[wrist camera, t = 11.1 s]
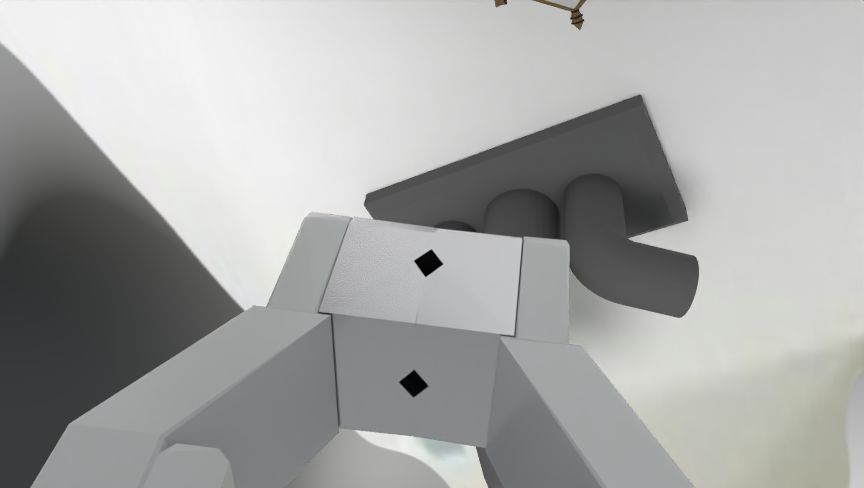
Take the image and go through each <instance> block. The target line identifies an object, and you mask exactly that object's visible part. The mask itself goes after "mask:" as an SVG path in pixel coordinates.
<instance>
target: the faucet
mask: <svg viewBox="0 0 864 488" xmlns="http://www.w3.org/2000/svg"><path fill="white" fill-rule="evenodd" d="M364 206H365V207H366V209H367V210H368V212H369V213H370V215H371V216H372V217H373V219H374V220H381V221H389V222H396V223H404V224H411V225H418V226H426V227H433V228H438V229H448V230H457V231H466V232H476V233H485V234H494V235H503V236H513V237H522V241H523V238H524V237H535V238H546V239H558V240H567V242H568V244H569V246H570V264H569V267H570V268H571V270H572V272H573V273H574V275H575V276H576V277H577V279H578V280H579V281H580V282H581V283H582V284H583V285H584V286H585V287H587V288H588V289H589V290H591V291H592V292H593V293H595V294H597V295H598V296H600V297H602V298H604V299H607V300H609V301H612V302H615V303H618V304H622V305H626V306H630V307H635V308H639V309H643V310H648V311H652V312H656V313H660V314H665V315H669V316H673V317H678V318H680V317H682V316H684V315H685V314H686V313H687V311H688V310H689V308H690V306H691V304H692V302H693V299H694V296H695V293H696V289H697V284H698V277H699V266H698V261H697V259H696V257H695V256H692V255H688V254H684V253H680V252H675V251H671V250H667V249H663V248H658V247H654V246H650V245H646V244H641V243H637V242H633V241H631V240H629V239H628V238H630V237H634V236H637V235H641V234H644V233H647V232H651V231H654V230H658V229H661V228H664V227H668V226H671V225H674V224H678V223H681V222H685V221H688V217H687V212H686V208H685V205H684V203H683V200H682V198H681V195H680V193H679V190H678V188H677V185H676V183H675V180H674V178H673V175H672V173H671V170H670V168H669V165H668V163H667V160H666V158H665V155H664V153H663V150H662V148H661V145H660V143H659V140H658V137H657V135H656V132H655V130H654V127H653V125H652V122H651V120H650V117H649V115H648V112H647V110H646V107H645V105H644V102H643V100H642V97H641V95H638V96H635V97H633V98H630V99H627V100H624V101H622V102H619V103H616V104H613V105H611V106H608V107H605V108H602V109H600V110H597V111H594V112H591V113H589V114H586V115H583V116H580V117H578V118H575V119H572V120H569V121H567V122H564V123H561V124H558V125H556V126H553V127H550V128H547V129H545V130H542V131H539V132H536V133H534V134H531V135H528V136H525V137H523V138H520V139H517V140H514V141H512V142H509V143H506V144H503V145H501V146H498V147H495V148H492V149H490V150H487V151H484V152H481V153H479V154H476V155H473V156H470V157H468V158H465V159H462V160H459V161H457V162H454V163H451V164H448V165H446V166H443V167H440V168H437V169H435V170H432V171H429V172H427V173H424V174H421V175H418V176H416V177H413V178H410V179H407V180H405V181H402V182H399V183H396V184H394V185H391V186H388V187H385V188H383V189H380V190H377V191H374V192H372V193H369V194H367V196H366V199H365V202H364ZM476 449H477V453H478V457H479V460H480V464H481V467H482V471H483V475H484V478H485V480H486V483H487V485H488V488H503V486H502V484H501V482H500V480H499V478H498V476H497V474H496V471H495V469H494V467H493V465H492V463H491V461H490V459H489V457H488V455H487V453H486V448H482V447H476Z"/></svg>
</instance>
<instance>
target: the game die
mask: <svg viewBox="0 0 864 488" xmlns="http://www.w3.org/2000/svg"><path fill="white" fill-rule="evenodd" d="M506 1H507V0H495V6H496V7H498V6H501V5H504V4H507V2H506ZM533 1H537V2H540V3H544V4H547V5H551V6H554V7H557V8H561V9H564V10H568V11H571V13H572V15H571V18H570V19H572V23H571V24H573V25H574V26H576V27H577V28H578V29H579V30H580V29H581V26H582V23H583V21H584V19H583V18H582V16H583V15H582V14H581V13H580V12H579V8H580V7H581V6H582V5H583V3H584V2H585V1H586V0H533Z"/></svg>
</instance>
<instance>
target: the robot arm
mask: <svg viewBox="0 0 864 488" xmlns="http://www.w3.org/2000/svg"><path fill="white" fill-rule="evenodd" d="M569 264H570V246H569V244H568V242H567V240H558V239H546V238H535V237H524V238H523V241H522V237H513V236H503V235H494V234H485V233H476V232H466V231H457V230H448V229H438V228H433V227H426V226H418V225H411V224H404V223H396V222H389V221H381V220H374V219H367V218H359V217H354V218H351V217H348V216H340V215H332V214H324V213H317V212H311V213H310V214H309V215H308V216H307V217H306V218H304V220H303V222H302V224H301V227H300V229H299V231H298V234H297V236H296V239H295V241H294V243H293V246H292V248H291V250H290V253H289V255H288V257H287V260H286V262H285V264H284V267H283V269H282V271H281V274H280V276H279V278H278V281H277V283H276V285H275V288H274V290H273V292H272V295H271V297H270V299H269V302H268V304H267V306H266V307H261V306H252V307H251V308H249V309H248V310H246V311H244V312H243V313H241V314H240V315H238V316H237V317H235V318H233V319H232V320H231V321H229V322H227V323H226V324H224V325H223V326H221V327H219V328H218V329H216V330H215V331H213V332H212V333H210V334H209V335H207V336H206V337H204V338H202V339H201V340H199V341H198V342H196V343H195V344H193V345H191V346H190V347H188V348H187V349H185V350H184V351H182V352H180V353H179V354H177V355H176V356H174V357H173V358H171V359H170V360H168V361H167V362H165V363H163V364H162V365H160V366H159V367H157V368H156V369H154V370H152V371H151V372H149V373H148V374H146V375H145V376H143V377H142V378H140V379H138V380H137V381H135V382H134V383H132V384H131V385H129V386H127V387H126V388H124V389H123V390H121V391H120V392H118V393H117V394H115V395H113V396H112V397H111V398H109V399H107V400H106V401H104V402H103V403H101V404H99V405H98V406H96V407H95V408H93V409H92V410H90V411H88V412H87V413H85V414H84V415H82V416H81V417H79V418H78V419H76V420H74V421H73V422H71V423H70V424H69V425H68V427H67V428H66V430H65V432H64V433H63V435H62V437H61V438H60V440H59V442H58V443H57V445H56V447H55V448H54V450H53V452H52V453H51V455H50V457H49V458H48V460H47V462H46V463H45V465H44V466H43V468H42V470H41V471H40V473H39V475H38V476H37V478H36V480H35V481H34V483H33V485H32V486H31V488H284V487H285V486H286V485H287V484H288V483H289V482H290V481H291V480H292V479H293V478H294V477H295V476H296V475H297V474H298V473H299V472H300V471H301V470H302V469H303V468H304V467H305V466H306V465H307V463H309V462H310V461H311V460H312V459H313V458H314V457H315V456H316V455H317V454H318V453H319V452H320V451H321V450H322V449H323V448H324V447H325V446H326V445H327V444H328V443H329V442H330V441H331V440H332V439H333V438H334V437H335V436H336V435H337V434H338V433H339V430H338V428H343V429H351V430H361V431H370V432H379V433H388V434H397V435H407V436H412V435H413V436H414V437H421V438H427V439H433V440H439V441H445V442H451V443H458V444H464V445H470V446H476V447H482V448H486V453H487V455H488V457H489V459H490V461H491V463H492V465H493V467H494V469H495V471H496V474H497V476H498V478H499V480H500V482H501V484H502V486H503V488H695V487H694V485H693V484H692V483H691V482H690V480H689V479H688V478H687V477H686V475H685V474H684V473H683V472H682V470H681V469H680V468H679V467H678V465H677V464H676V463H675V462H674V460H673V459H672V458H671V457H670V455H669V454H668V453H667V452H666V450H665V449H664V448H663V447H662V445H661V444H660V443H659V442H658V440H657V439H656V438H655V437H654V435H653V434H652V433H651V432H650V430H649V429H648V428H647V427H646V425H645V424H644V423H643V422H642V420H641V419H640V418H639V417H638V415H637V414H636V413H635V412H634V410H633V409H632V408H631V407H630V405H629V404H628V403H627V402H626V400H625V399H624V398H623V396H622V395H621V394H620V393H619V391H618V390H617V389H616V388H615V386H614V385H613V384H612V383H611V381H610V380H609V379H608V378H607V376H606V375H605V374H604V373H603V371H602V370H601V369H600V368H599V366H598V365H597V364H596V363H595V361H594V360H593V359H592V358H591V356H590V355H589V354H588V353H587V351H586V350H585V349H584V348H583V347H582V346H576V345H569Z"/></svg>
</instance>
